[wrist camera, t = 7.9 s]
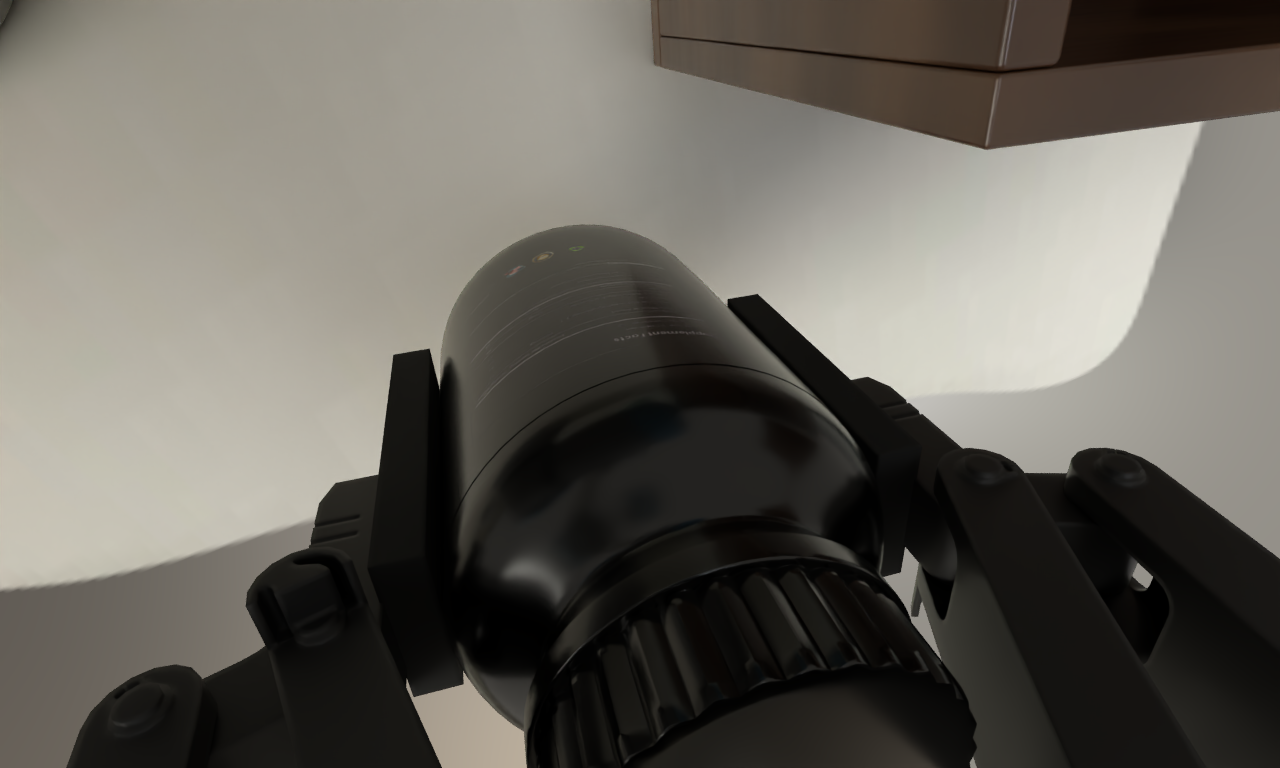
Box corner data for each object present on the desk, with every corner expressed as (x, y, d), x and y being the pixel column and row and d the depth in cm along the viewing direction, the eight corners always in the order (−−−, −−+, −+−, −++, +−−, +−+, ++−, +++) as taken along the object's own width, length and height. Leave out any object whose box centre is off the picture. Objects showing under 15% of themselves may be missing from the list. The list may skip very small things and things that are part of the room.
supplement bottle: (733, 402, 19) (1058, 846, 9) (507, 496, 19) (585, 1068, 9) (667, 168, 16) (1082, 473, 6) (385, 278, 15) (280, 824, 5)
